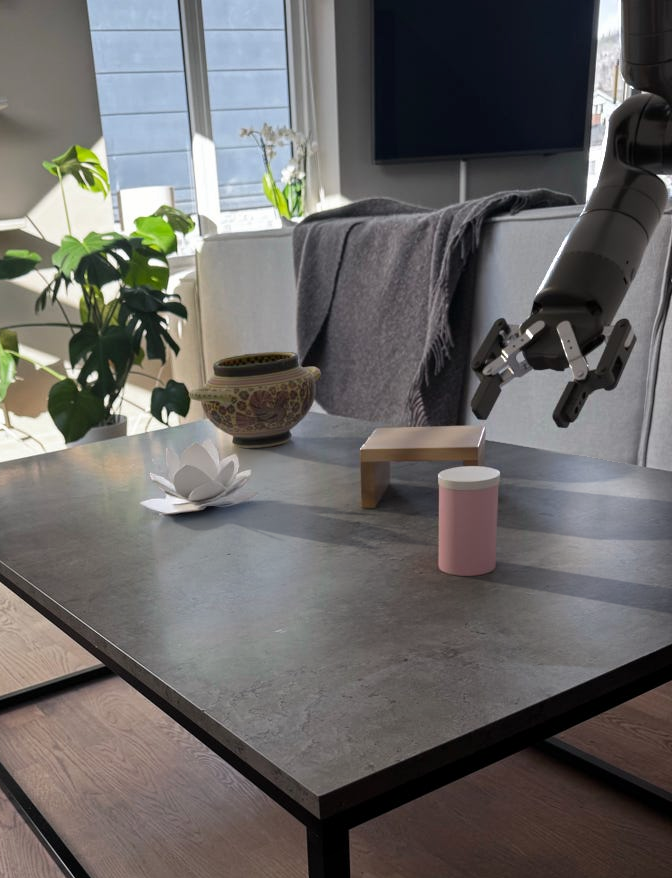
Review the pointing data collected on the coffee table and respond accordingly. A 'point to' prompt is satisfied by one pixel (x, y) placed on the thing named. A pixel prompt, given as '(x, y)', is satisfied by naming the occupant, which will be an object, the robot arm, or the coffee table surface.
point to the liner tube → (468, 520)
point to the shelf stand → (415, 452)
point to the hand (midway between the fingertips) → (517, 419)
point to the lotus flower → (199, 481)
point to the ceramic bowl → (258, 397)
